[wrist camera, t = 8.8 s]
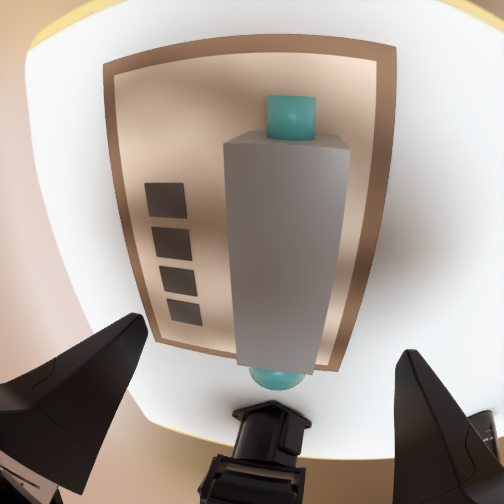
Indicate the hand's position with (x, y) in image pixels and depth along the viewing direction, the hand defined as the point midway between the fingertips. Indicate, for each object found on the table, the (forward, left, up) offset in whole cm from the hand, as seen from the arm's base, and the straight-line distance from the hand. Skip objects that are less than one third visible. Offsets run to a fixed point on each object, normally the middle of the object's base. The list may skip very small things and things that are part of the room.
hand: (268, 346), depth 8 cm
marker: (0, 0, -7) cm, 7 cm away
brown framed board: (-2, +2, -8) cm, 8 cm away
